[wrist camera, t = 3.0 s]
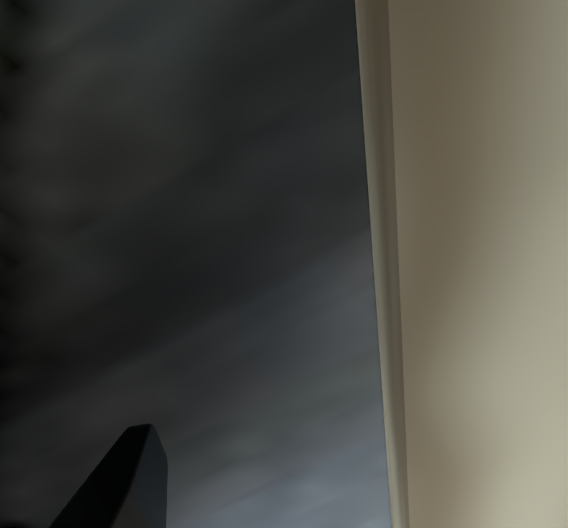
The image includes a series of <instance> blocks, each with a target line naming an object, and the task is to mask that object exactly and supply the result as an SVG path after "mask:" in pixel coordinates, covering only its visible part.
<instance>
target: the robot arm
mask: <svg viewBox="0 0 568 528" xmlns="http://www.w3.org/2000/svg"><path fill="white" fill-rule="evenodd" d="M167 476H168V464H167V457H166V454H165V451H164V449H163V446H162V444H161V441H160V439H159V436H158V434H157V431H156V429H155V427H154V426H153V425H152V424H142V425H136V426H131V427H128V428H127V429H126V430H125V431H124V432H123V434H122V435H121V436H120V437H119V439H118V440H117V441H116V442H115V444H114V445H113V446H112V448H111V449H110V450H109V451H108V453H107V454H106V455H105V456H104V458H103V459H102V460H101V462H100V463H99V464H98V465H97V467H96V468H95V469H94V470H93V472H92V473H91V474H90V476H89V477H88V478H87V479H86V481H85V482H84V483H83V484H82V486H81V487H80V488H79V490H78V491H77V492H76V493H75V495H74V496H73V497H72V498H71V500H70V501H69V502H68V504H67V505H66V506H65V507H64V509H63V510H62V511H61V512H60V514H59V515H58V516H57V518H56V519H55V520H54V521H53V523H52V524H51V525H50V526H49V528H166V506H167ZM6 528H15V527H6Z"/></svg>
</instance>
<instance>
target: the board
mask: <svg viewBox="0 0 568 528" xmlns="http://www.w3.org/2000/svg"><path fill="white" fill-rule="evenodd" d="M355 8H356V23H357V37H358V51H359V65H360V80H361V94H362V108H363V123H364V137H365V151H366V165H367V180H368V194H369V208H370V223H371V237H372V251H373V265H374V280H375V294H376V308H377V323H378V337H379V351H380V365H381V380H382V394H383V408H384V423H385V437H386V451H387V465H388V480H389V494H390V508H391V523H392V528H568V0H355Z"/></svg>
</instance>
